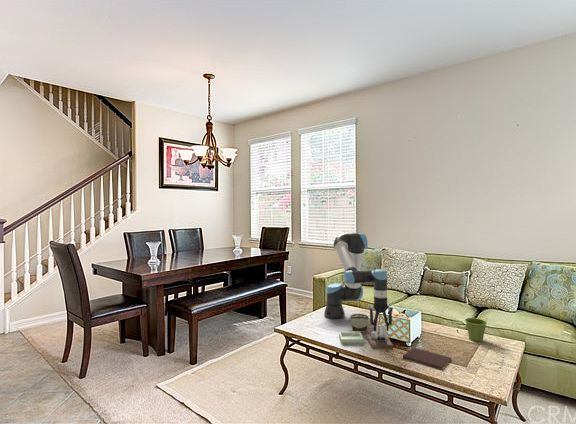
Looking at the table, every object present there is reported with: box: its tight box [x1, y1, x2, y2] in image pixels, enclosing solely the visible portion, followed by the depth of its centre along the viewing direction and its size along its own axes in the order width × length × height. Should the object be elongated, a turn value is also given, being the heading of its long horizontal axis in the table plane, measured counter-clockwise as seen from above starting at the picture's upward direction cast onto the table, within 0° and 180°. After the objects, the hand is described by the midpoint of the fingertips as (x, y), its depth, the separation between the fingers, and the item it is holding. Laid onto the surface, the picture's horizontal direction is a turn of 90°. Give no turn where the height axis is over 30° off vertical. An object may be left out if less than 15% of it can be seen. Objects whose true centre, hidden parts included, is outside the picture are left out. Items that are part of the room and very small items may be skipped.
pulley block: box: [365, 330, 394, 350], centre depth 197 cm, size 16×12×5 cm
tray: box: [338, 331, 365, 345], centre depth 202 cm, size 12×13×3 cm
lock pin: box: [377, 324, 384, 340], centre depth 192 cm, size 3×3×10 cm
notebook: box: [402, 347, 452, 371], centre depth 176 cm, size 15×20×2 cm
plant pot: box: [464, 317, 488, 343], centre depth 199 cm, size 12×12×11 cm
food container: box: [349, 313, 370, 333], centre depth 218 cm, size 12×6×10 cm, turn 84°
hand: (381, 336), depth 192 cm, fingers open, 4 cm apart
